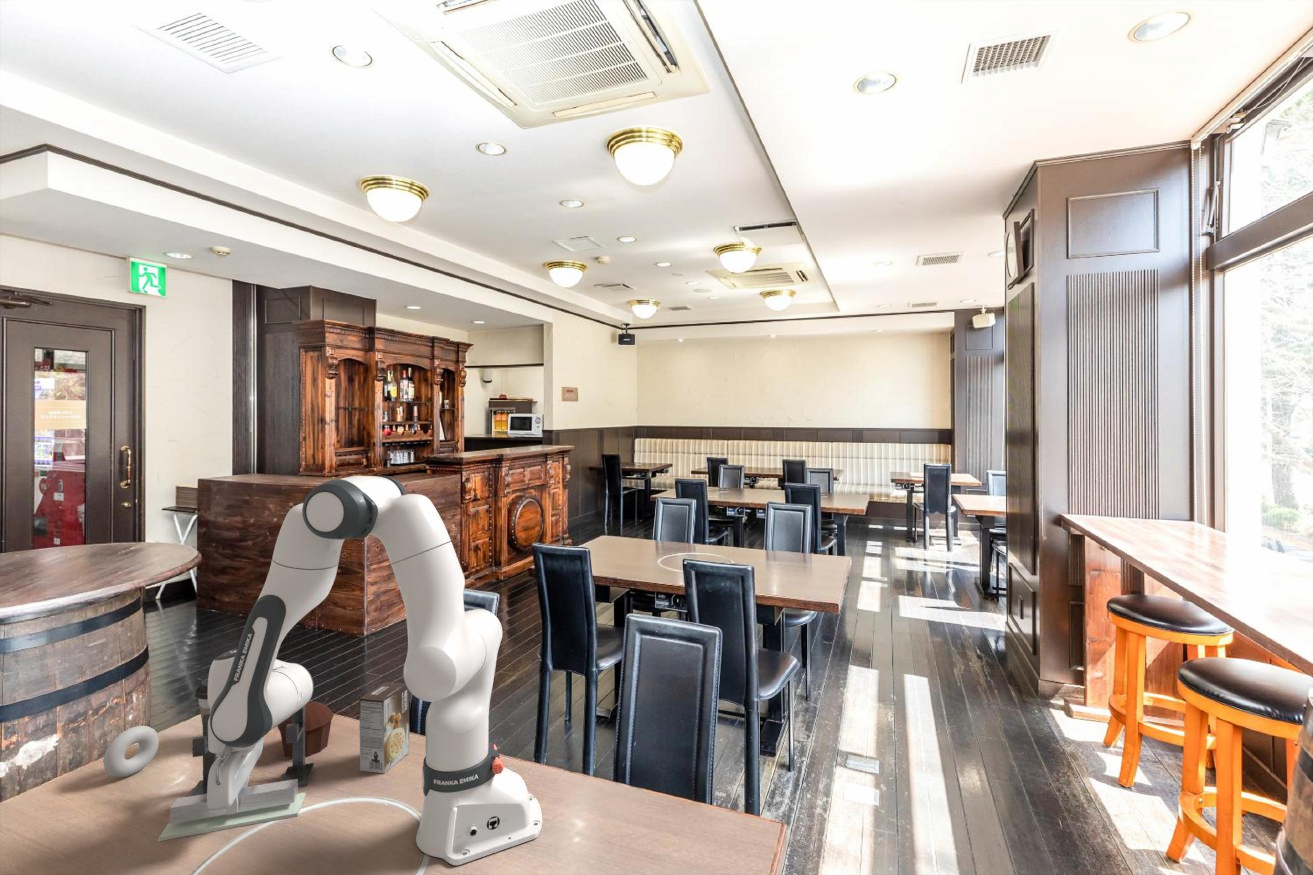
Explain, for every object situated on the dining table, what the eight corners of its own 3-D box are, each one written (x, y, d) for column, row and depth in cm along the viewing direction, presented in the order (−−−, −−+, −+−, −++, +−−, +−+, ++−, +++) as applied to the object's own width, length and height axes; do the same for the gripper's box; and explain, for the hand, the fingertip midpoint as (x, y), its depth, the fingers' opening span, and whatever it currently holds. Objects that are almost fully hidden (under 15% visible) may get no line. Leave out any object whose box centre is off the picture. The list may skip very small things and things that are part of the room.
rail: (297, 793, 120) (297, 778, 120) (294, 802, 117) (294, 787, 117) (177, 814, 114) (176, 798, 114) (170, 823, 111) (170, 807, 111)
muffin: (325, 758, 136) (325, 714, 136) (270, 765, 133) (269, 720, 133) (338, 732, 148) (338, 692, 148) (287, 738, 145) (287, 697, 145)
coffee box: (385, 749, 140) (385, 680, 140) (410, 752, 139) (410, 682, 139) (358, 770, 131) (358, 697, 131) (384, 774, 130) (384, 700, 130)
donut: (109, 788, 125) (109, 740, 124) (99, 785, 126) (98, 737, 126) (163, 763, 134) (162, 718, 134) (152, 760, 135) (152, 716, 135)
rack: (313, 768, 132) (313, 695, 132) (305, 788, 125) (305, 711, 124) (199, 786, 125) (199, 709, 125) (183, 809, 118) (183, 727, 118)
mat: (305, 794, 122) (305, 792, 122) (297, 815, 116) (297, 812, 116) (175, 817, 115) (175, 814, 115) (158, 840, 109) (158, 837, 109)
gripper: (237, 758, 107) (238, 835, 107) (270, 707, 126) (270, 773, 126) (195, 764, 105) (195, 843, 105) (234, 712, 124) (235, 779, 124)
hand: (237, 804), depth 116 cm, fingers open, 3 cm apart
